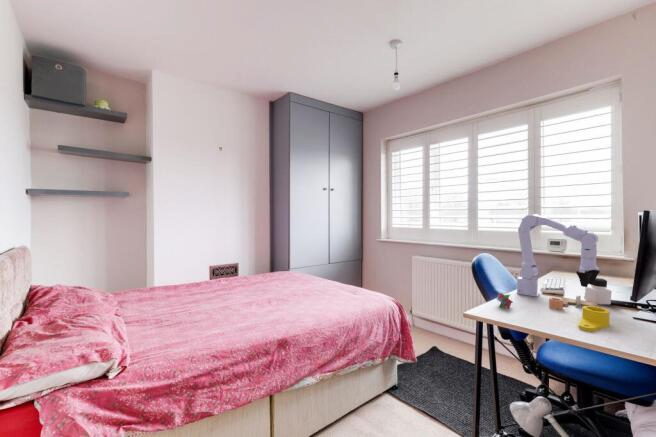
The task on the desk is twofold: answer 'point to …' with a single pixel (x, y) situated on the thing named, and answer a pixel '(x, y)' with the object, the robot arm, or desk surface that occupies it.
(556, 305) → the hollow octagonal tube
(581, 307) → the post
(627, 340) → the desk surface
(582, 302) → the wooden u-shaped block
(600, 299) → the medicine bottle
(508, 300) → the geometric puzzle
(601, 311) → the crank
